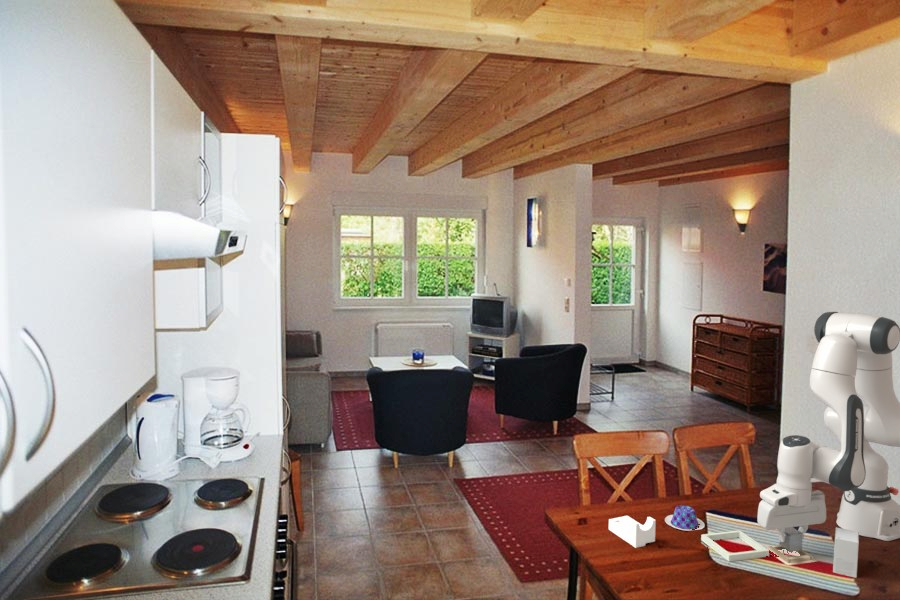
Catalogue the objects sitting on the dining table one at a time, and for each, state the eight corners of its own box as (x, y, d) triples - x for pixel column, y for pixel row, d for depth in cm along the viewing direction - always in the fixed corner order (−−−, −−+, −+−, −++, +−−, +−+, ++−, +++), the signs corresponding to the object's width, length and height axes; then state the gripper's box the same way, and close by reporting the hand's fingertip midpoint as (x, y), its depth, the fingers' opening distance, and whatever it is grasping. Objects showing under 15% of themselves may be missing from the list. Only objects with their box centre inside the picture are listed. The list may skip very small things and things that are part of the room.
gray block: (791, 543, 190) (792, 527, 189) (801, 550, 186) (802, 533, 185) (779, 545, 189) (780, 528, 188) (789, 551, 185) (790, 535, 184)
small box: (856, 580, 175) (859, 543, 173) (832, 575, 178) (834, 537, 176) (856, 567, 181) (859, 531, 180) (833, 562, 184) (835, 526, 183)
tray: (739, 538, 199) (739, 530, 198) (768, 558, 186) (769, 550, 186) (701, 542, 196) (701, 534, 196) (728, 564, 183) (729, 555, 183)
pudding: (688, 536, 200) (689, 520, 200) (656, 522, 210) (657, 506, 210) (712, 527, 207) (713, 511, 206) (680, 513, 217) (681, 498, 216)
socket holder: (792, 547, 193) (792, 541, 193) (818, 563, 183) (818, 557, 183) (762, 550, 191) (763, 544, 191) (787, 567, 181) (787, 561, 181)
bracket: (654, 544, 195) (655, 520, 195) (635, 548, 193) (636, 524, 192) (626, 526, 207) (627, 503, 206) (608, 530, 204) (609, 507, 204)
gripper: (816, 485, 191) (813, 530, 192) (754, 492, 186) (752, 538, 188) (833, 494, 185) (830, 540, 186) (770, 501, 180) (768, 549, 182)
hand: (791, 540), depth 187 cm, fingers closed on gray block, 4 cm apart
